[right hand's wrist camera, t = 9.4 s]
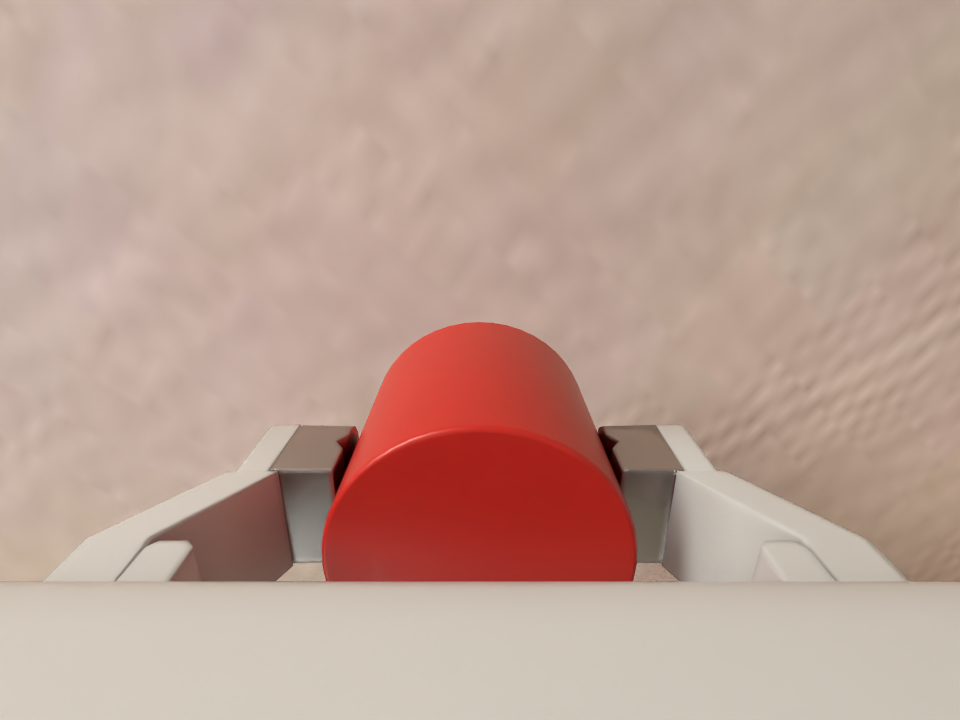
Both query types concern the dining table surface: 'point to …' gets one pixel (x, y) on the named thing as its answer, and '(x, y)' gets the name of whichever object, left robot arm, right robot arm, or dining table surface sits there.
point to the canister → (479, 471)
